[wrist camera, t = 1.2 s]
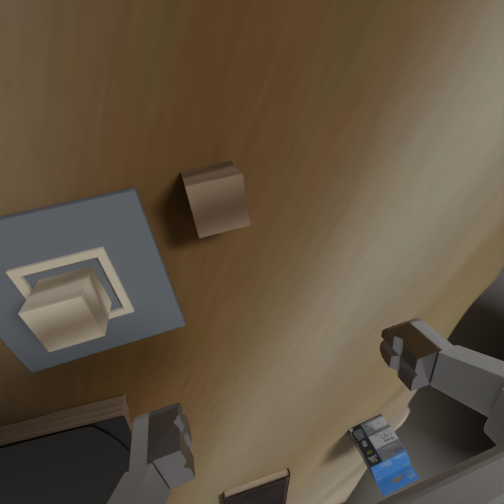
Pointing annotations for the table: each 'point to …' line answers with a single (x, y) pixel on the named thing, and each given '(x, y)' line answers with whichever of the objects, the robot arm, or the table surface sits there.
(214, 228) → the walnut block
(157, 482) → the robot arm
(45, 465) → the large dark grey book
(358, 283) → the table surface
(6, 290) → the board
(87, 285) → the birch block
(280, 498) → the hardcover book
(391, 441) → the blue grey product box
